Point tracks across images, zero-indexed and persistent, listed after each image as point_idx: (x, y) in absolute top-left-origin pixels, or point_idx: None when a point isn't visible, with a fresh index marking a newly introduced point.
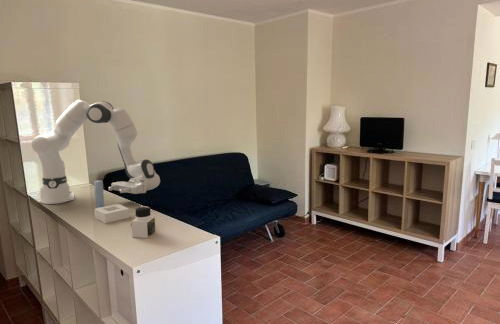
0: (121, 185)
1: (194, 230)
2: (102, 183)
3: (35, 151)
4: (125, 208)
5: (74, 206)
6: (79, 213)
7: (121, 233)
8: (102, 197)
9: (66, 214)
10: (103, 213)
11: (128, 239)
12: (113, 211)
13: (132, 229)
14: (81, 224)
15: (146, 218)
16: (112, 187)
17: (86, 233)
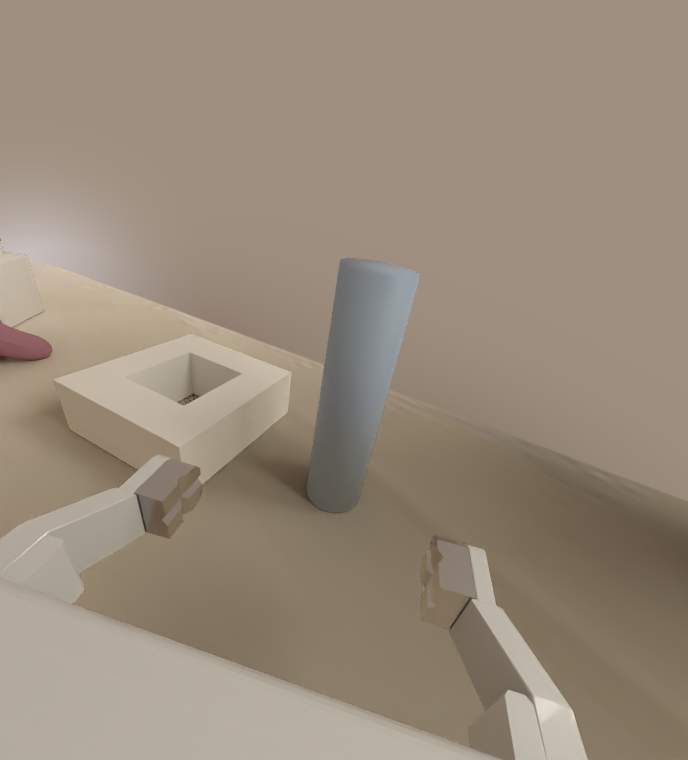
0: (267, 675)
1: None
2: (338, 287)
3: None
4: (84, 381)
5: (604, 547)
6: (415, 445)
7: (92, 325)
8: (319, 400)
9: (453, 428)
10: (200, 337)
11: (59, 306)
12: (157, 350)
13: (34, 284)
14: (286, 364)
15: None
16: (437, 583)
17: (219, 328)
